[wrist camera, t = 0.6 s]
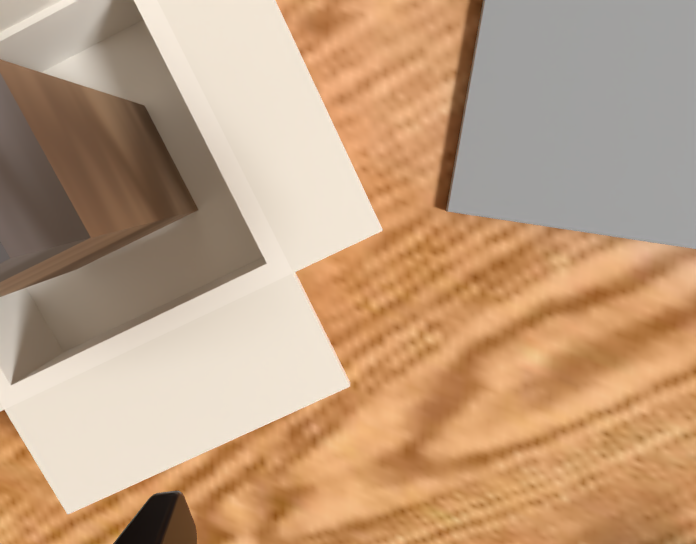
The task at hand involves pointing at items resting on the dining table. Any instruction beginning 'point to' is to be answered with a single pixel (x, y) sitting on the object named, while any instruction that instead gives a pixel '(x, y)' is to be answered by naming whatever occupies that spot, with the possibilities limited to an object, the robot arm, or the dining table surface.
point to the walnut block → (76, 176)
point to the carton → (182, 246)
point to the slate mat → (582, 118)
